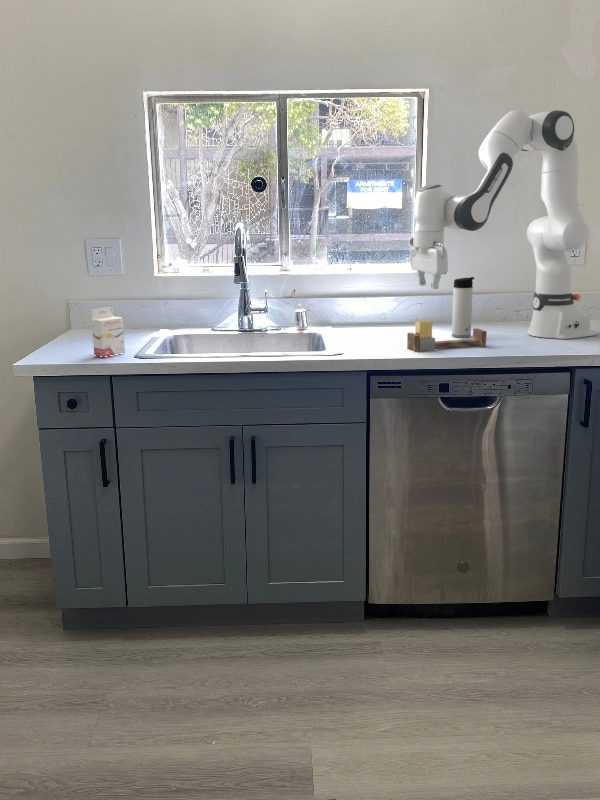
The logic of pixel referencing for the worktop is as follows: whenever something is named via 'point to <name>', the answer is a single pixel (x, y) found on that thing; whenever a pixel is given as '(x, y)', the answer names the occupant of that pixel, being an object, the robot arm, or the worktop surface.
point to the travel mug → (462, 307)
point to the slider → (425, 335)
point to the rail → (450, 341)
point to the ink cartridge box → (107, 332)
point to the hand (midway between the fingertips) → (428, 287)
